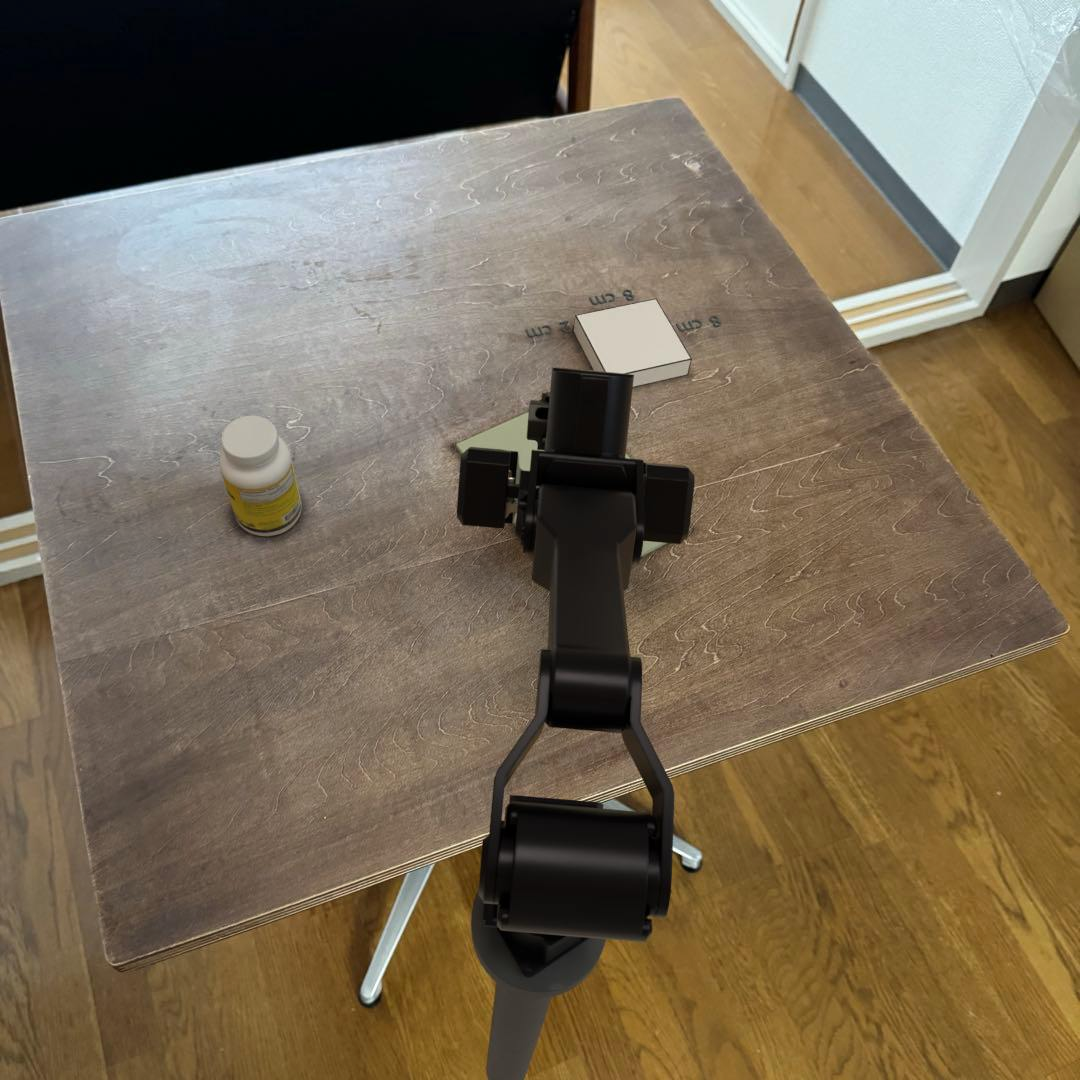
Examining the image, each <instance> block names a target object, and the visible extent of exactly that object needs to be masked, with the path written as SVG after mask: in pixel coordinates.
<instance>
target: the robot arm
mask: <svg viewBox="0 0 1080 1080" xmlns="http://www.w3.org/2000/svg"><path fill="white" fill-rule="evenodd" d="M633 380H634V375H632V374H623V373H614V372H603V371H593V369H592V370H591V369H581V368H568V367H567V368H566V367H551V378H550V387H549V388H550V389H549V391H547V392H541V399H539V400H537V399H531V400H529V403H528V412H529V415H528V427H527V439H528V440H535V441H536V442H537V443H538V447H537V450H532V452H531V463H530V471H524V470H522V469H521V468H520V467H519V455H518V451H507V450H501V449H490V448H479V447H469V448H468V449H467V450H466V451H465V452H463V453H462V455H461V454H460V461H459V462H460V463H459V473H458V474H459V475H458V476H459V477H458V487H457V502H456V519H457V520H458V521H459V522H460V523H461V525H462V526H467V527H478V528H491V529H502V530H504V529H505V528H506V527H505V524H507V525H508V524H510V525H511V524H513V520H514V517H515V515H516V513H517V516H516V526H514V527H515V529H514V535H515V536H516V538H518V541H520V545H522V554H528V555H529V554H530V555H532V562H531V564H532V567H531V580H532V581H533V583H535V584H536V585H538V586H539V587H541V588H542V589H544V590H546V591H547V592H549V599H548V627H547V628H548V629H547V649H545V648H540V651H539V661H538V672H537V681H536V683H537V684H536V694H535V708H534V716H533V718H532V719H531V720H530V722H529V723H528V725H527V727H526V728H525V729H524V731H523V732H522V733H521V735H520V737H519V738H518V740H516V742H515V744H514V746H513V747H512V748H511V750H510V751H509V753H508V754H507V756H506V757H505V758H504V760H503V761H502V763H501V764H500V765H499V767H498V768H497V770H496V771H495V776H494V778H493V785H492V786H493V788H492V797H491V798H492V799H491V809H490V810H491V811H490V820H489V832H488V835H487V836H485V837H484V838H483V839H482V843H481V855H480V865H479V867H480V868H479V878H478V879H479V881H478V889H479V893H478V895H479V897H480V898H481V899H482V900H483V903H484V913H483V921H486V922H485V927H496V929H497V931H498V932H499V934H500V936H501V937H502V939H503V941H504V942H505V944H506V946H507V947H508V949H509V951H510V952H511V954H512V956H513V957H514V959H515V961H516V962H517V964H518V966H519V967H520V969H521V971H522V972H523V974H524V975H525V976H526V977H529V978H530V977H533V976H534V975H536V974H537V973H539V972H540V971H542V970H543V969H545V968H546V967H548V966H549V965H551V964H552V963H554V962H555V961H557V960H558V959H560V958H561V957H563V956H564V955H566V954H567V953H569V952H570V951H572V950H573V949H575V948H576V947H578V946H579V945H581V944H582V943H584V942H585V941H587V940H588V939H589V938H598V939H606V940H610V941H612V940H613V941H623V942H635V943H645V942H646V941H647V940H649V939H650V937H651V936H652V934H653V919H652V918H658V919H665V918H666V917H667V916H668V913H669V912H668V911H669V907H670V902H671V894H672V879H673V856H674V855H673V854H674V853H673V852H674V822H675V820H674V819H675V815H674V814H675V790H674V785H673V784H672V781H671V779H670V777H669V775H668V773H667V771H666V769H665V768H664V765H663V763H662V762H661V760H660V757H659V756H658V754H657V752H656V749H655V748H654V746H653V744H652V742H651V740H650V738H649V736H648V734H647V732H646V730H645V728H644V726H643V724H642V721H641V719H642V696H643V662H642V658H641V657H640V656H639V657H638V656H631V652H630V642H629V633H628V632H629V631H628V623H627V614H626V602H625V593H624V591H626V590H628V589H629V587H630V580H631V579H630V578H631V573H632V564H633V563H634V564H639V563H640V562H641V559H642V557H641V554H642V548H643V541H650V542H661V543H667V544H673V545H681V544H682V543H683V542H684V541H685V540H686V539H688V536H689V533H690V531H689V528H690V529H691V518H692V510H693V509H692V508H693V502H694V501H693V500H694V491H695V484H696V483H695V474H694V473H693V472H692V471H691V469H690V468H689V467H688V466H687V465H681V464H671V463H669V464H668V463H657V462H644V461H645V460H644V459H640V458H631V457H630V458H625V456H626V454H627V446H628V435H629V428H630V427H629V425H630V417H631V407H632V398H633V388H634V387H633ZM539 450H544V451H539ZM545 724H546V726H547V727H548V728H554V729H564V730H565V729H566V730H577V731H578V730H579V731H588V732H589V731H590V732H601V733H612V734H613V733H614V734H621V737H622V741H623V744H624V745H625V747H626V750H627V751H628V753H629V755H630V757H631V759H632V761H633V763H634V765H635V767H636V769H637V771H638V773H639V776H640V777H641V780H642V782H643V783H644V786H645V787H646V790H647V791H648V793H649V795H650V797H651V800H652V806H651V812H649V811H648V812H647V811H636V810H635V811H634V810H624V809H612V808H604V804H603V803H602V802H600V801H589V800H587V801H586V800H576V799H567V798H566V799H565V798H554V797H543V796H529V795H517V794H509V799H508V800H509V801H508V804H507V805H506V806H505V809H504V817H503V808H504V798H505V797H504V796H505V788H506V785H507V784H508V783H509V782H510V780H511V779H512V777H513V775H514V774H515V772H516V771H517V770H518V769H519V767H520V765H521V764H522V762H523V761H524V760H525V758H526V756H527V755H528V753H529V752H530V751H531V749H532V748H533V746H534V745H535V743H536V742H537V741H538V739H539V737H540V736H541V735H542V732H543V729H544V727H545ZM503 818H504V819H503ZM527 967H531V968H532V970H533V971H532V972H531V973H528V972H527V971H526V968H527Z"/></svg>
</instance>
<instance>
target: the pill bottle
mask: <svg viewBox="0 0 1080 1080" xmlns="http://www.w3.org/2000/svg"><path fill="white" fill-rule="evenodd" d="M220 440H221V446H222V449H221V451H220V454H219V458H218V464H219V470H220V474H221V476H222V480H223V483H224V486H225V490H226V492H227V496H228V498H229V501H230V505H231V509H232V511H233V514H234V518H235V520H236V522H237V524H238V525H239V526H240V527H241V528H242V529H243V530H244V531H245V532H247V533H249V534H252V535H254V536H258V537H259V536H260V537H274V536H277V535H280V534H283V533H285V532H287V531H289V530H290V529H291V528H293V526H294V525H295V524H296V523H297V522H298V520H299V518H300V517H301V514H302V510H303V509H302V508H303V503H302V497H301V493H300V488H299V485H298V479H297V476H296V471H295V466H294V462H293V461H294V460H293V457H292V452H291V450H290V447H289V445H288V444H287V442H286V441H285V440H284V439H283V438H282V437H280V436H279V435H278V431H277V428H276V427H275V425H274V423H272V422H271V420H268V419H267V418H265V417H263V416H259V415H246V416H241V417H237V418H235V419H234V420H232V421H230V423H228V424H227V425H226V426H225V427H224V429H223V430H222V434H221V438H220Z"/></svg>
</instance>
